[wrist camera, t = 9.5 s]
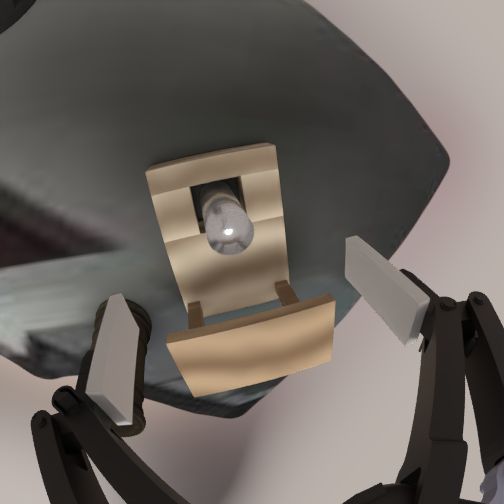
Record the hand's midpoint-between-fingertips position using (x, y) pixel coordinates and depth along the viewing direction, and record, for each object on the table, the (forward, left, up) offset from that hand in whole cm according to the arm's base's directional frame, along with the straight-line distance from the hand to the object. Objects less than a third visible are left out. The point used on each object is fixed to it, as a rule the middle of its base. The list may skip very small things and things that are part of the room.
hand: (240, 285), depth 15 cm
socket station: (+5, +1, -21) cm, 21 cm away
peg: (+1, +1, -21) cm, 21 cm away
